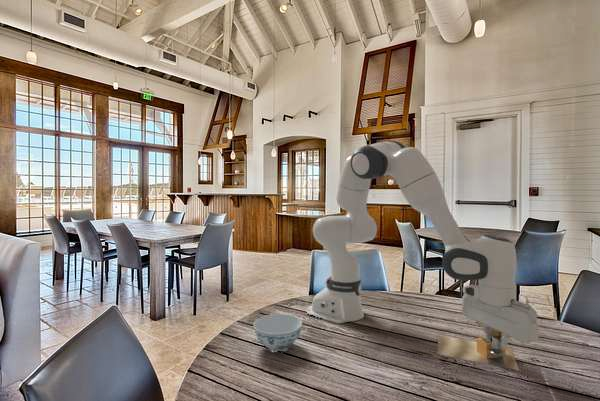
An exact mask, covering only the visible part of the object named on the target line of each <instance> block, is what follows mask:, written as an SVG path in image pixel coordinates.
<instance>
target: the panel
mask: <svg viewBox="0 0 600 401" xmlns="http://www.w3.org/2000/svg"><path fill="white" fill-rule="evenodd" d="M437 340H438V341H437V348H436V355H440V356H446V357H449V358H450V357H451V358H456V359H460V360H465V361H471V362H477V363H481V364H484V365H485V364H486V365H491V366H495V367H499V368H506V369H511V370H517V371H520V369H519V366H518V363H517V360H516V358H515V354H514V352H513V349H512V347H507V348H506V356H505V357H496V358H485V357H484V356H482V355H481V354H480V353H478V352H477V341H473V340H467V339H463V338H462V339H461V338H457V337H456V338H455V337H452V336H451V337H450V336H446V335H445V336H444V335H441V334H440V335H438V339H437Z"/></svg>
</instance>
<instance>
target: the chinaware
mask: <svg viewBox="0 0 600 401" xmlns="http://www.w3.org/2000/svg"><path fill="white" fill-rule="evenodd" d="M302 327H303V321H302V319H300V318H299V317H298V316H295V315H291V314H286V313H285V314H284V313H275V314H273V313H272V314H268V315H264V316H262V317H259V318H257V319H256V320H255V321H254V323H253V330H254V332H255V337H257V339H258V341H259V343H260V344H262V345H263V346H265V348H267V349H268V348H269V349H270V350H273V351H284V350H286V349H288V350H289V348H290V347H291V346H292V345H293V344H294V343H295V342H296V341H297V340H298V338H299V336H300V335H301V331H302ZM288 347H289V348H288ZM286 351H287V350H286ZM284 352H285V351H284Z"/></svg>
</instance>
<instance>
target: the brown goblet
mask: <svg viewBox="0 0 600 401" xmlns="http://www.w3.org/2000/svg"><path fill="white" fill-rule="evenodd" d="M490 329H491V336H492V349H489V354H491V355H492V356H495V357H504V352H503V351H501V347H499V346H498V340H501V339H503V336H502V332H500V331H498V330H495V329H493V328H490Z"/></svg>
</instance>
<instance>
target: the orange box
mask: <svg viewBox="0 0 600 401" xmlns="http://www.w3.org/2000/svg"><path fill="white" fill-rule="evenodd" d="M476 342H477V352H478V353H480V354H481V355H482V356H484V357H485V358H496V357H495V356H492V355H491V354H489V349H492V343H491V342H489V341H486V336H485V337H477V338H476ZM501 351H503V352H504V357H505V356H506V348H505V349H503V348H501Z"/></svg>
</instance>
